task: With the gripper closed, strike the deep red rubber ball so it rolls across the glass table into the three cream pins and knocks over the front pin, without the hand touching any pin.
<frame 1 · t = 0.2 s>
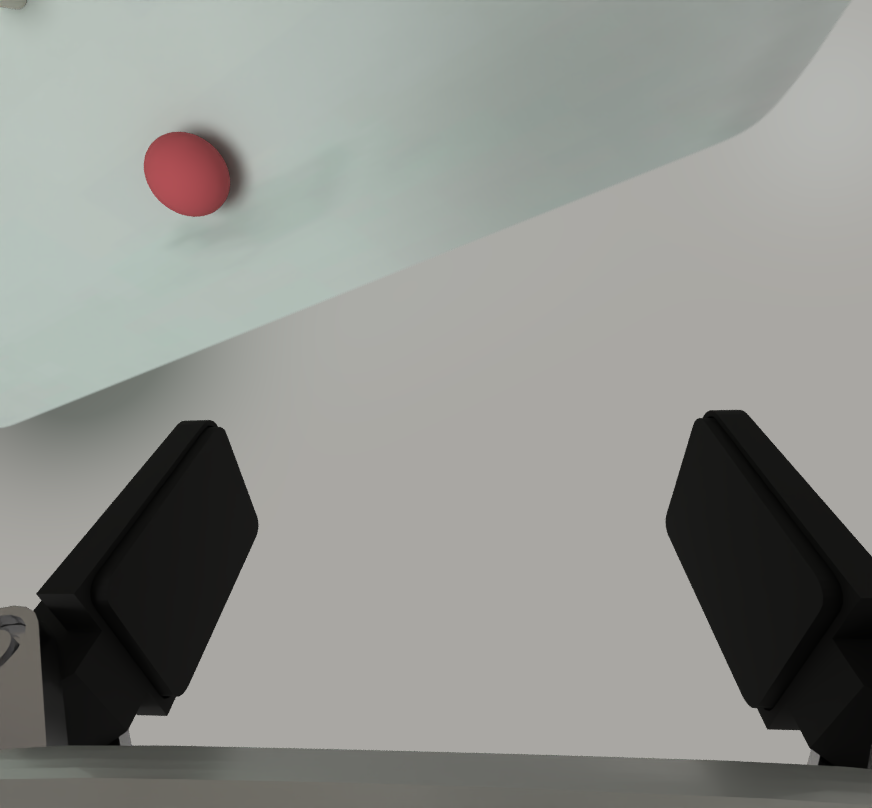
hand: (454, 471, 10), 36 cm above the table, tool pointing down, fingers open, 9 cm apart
ball: (188, 175, 38), on the table
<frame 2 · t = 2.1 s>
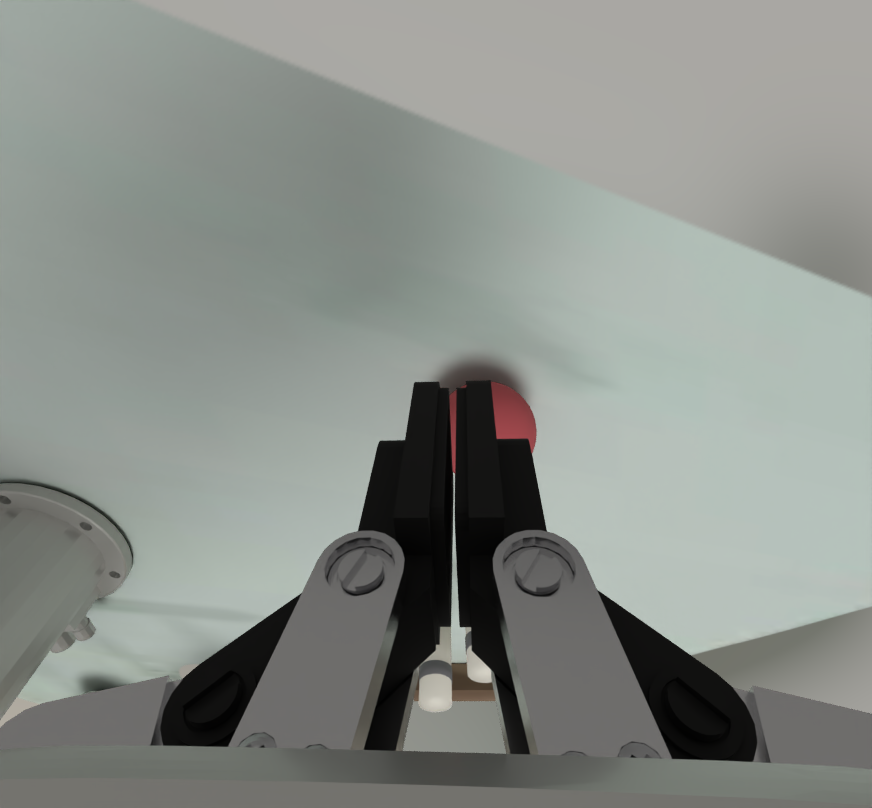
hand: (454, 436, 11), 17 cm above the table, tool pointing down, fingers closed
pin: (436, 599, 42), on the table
back wall: (475, 669, 47), on the table
ball: (484, 431, 28), on the table
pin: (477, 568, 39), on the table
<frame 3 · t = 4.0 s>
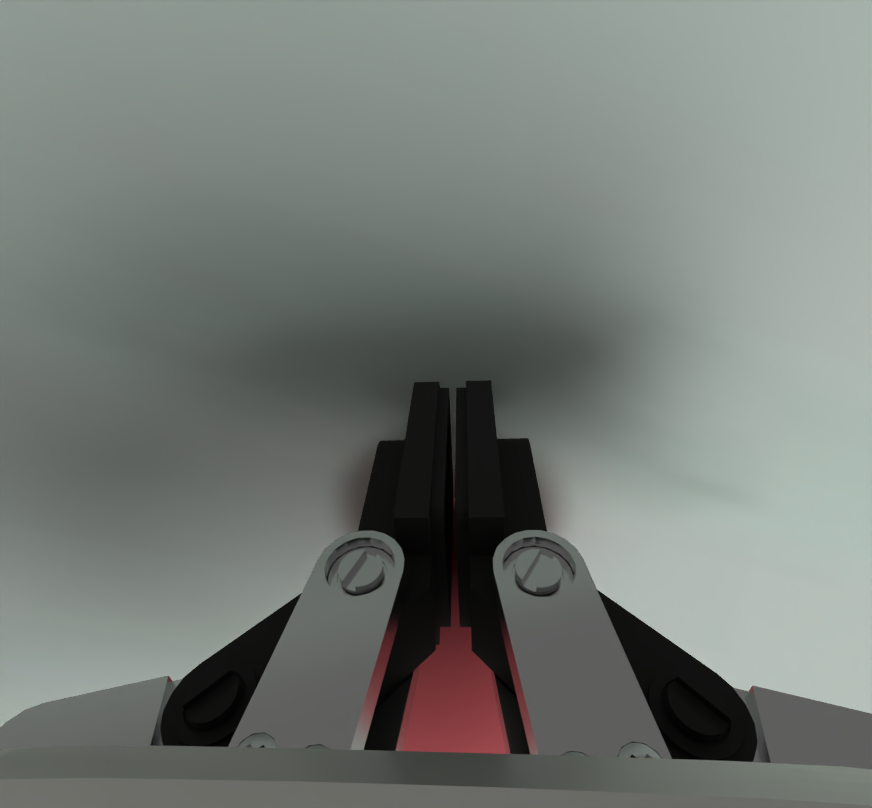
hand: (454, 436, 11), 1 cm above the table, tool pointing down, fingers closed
ball: (458, 620, 12), on the table, touching gripper
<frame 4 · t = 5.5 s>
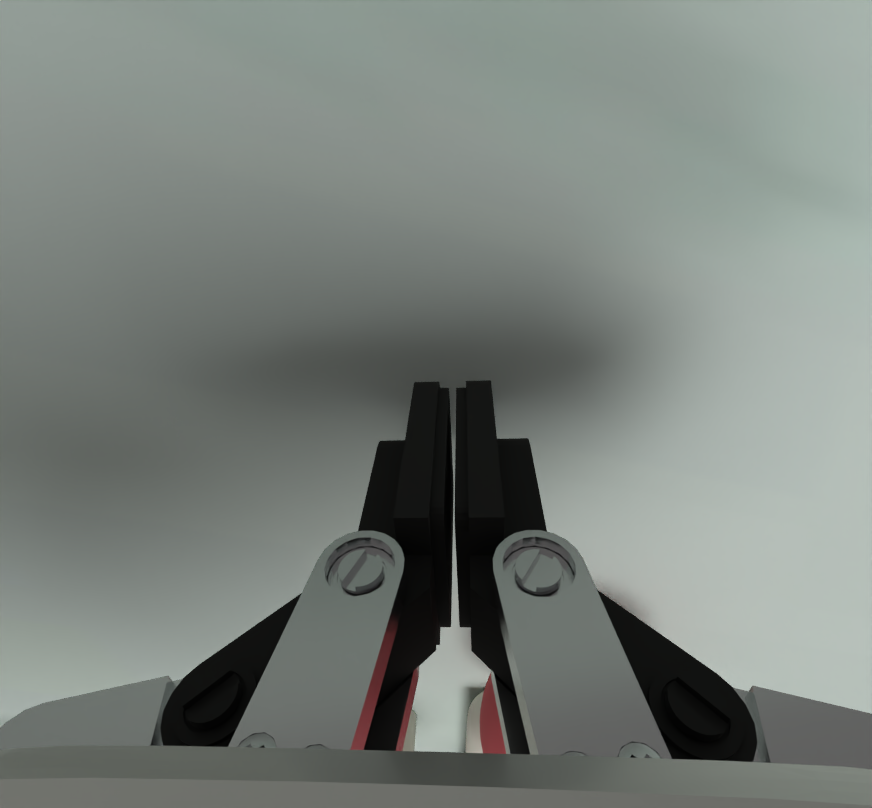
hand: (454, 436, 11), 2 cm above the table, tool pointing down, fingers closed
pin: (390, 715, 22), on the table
ball: (574, 729, 15), on the table
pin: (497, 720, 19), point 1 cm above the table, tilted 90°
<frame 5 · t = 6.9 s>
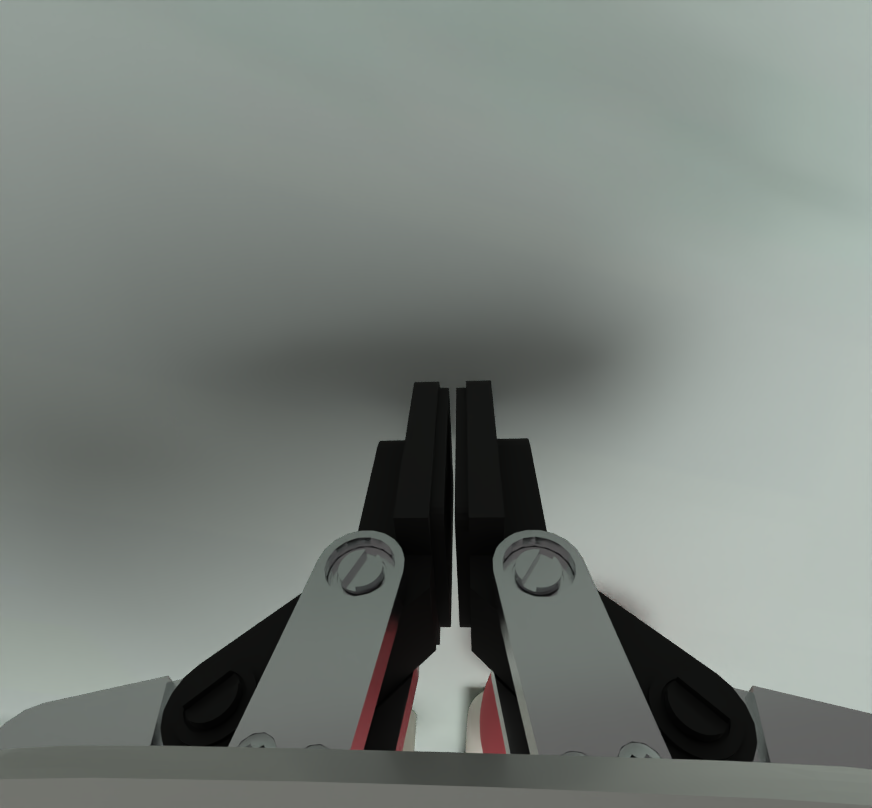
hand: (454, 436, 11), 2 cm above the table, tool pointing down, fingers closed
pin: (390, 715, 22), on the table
ball: (574, 729, 15), on the table
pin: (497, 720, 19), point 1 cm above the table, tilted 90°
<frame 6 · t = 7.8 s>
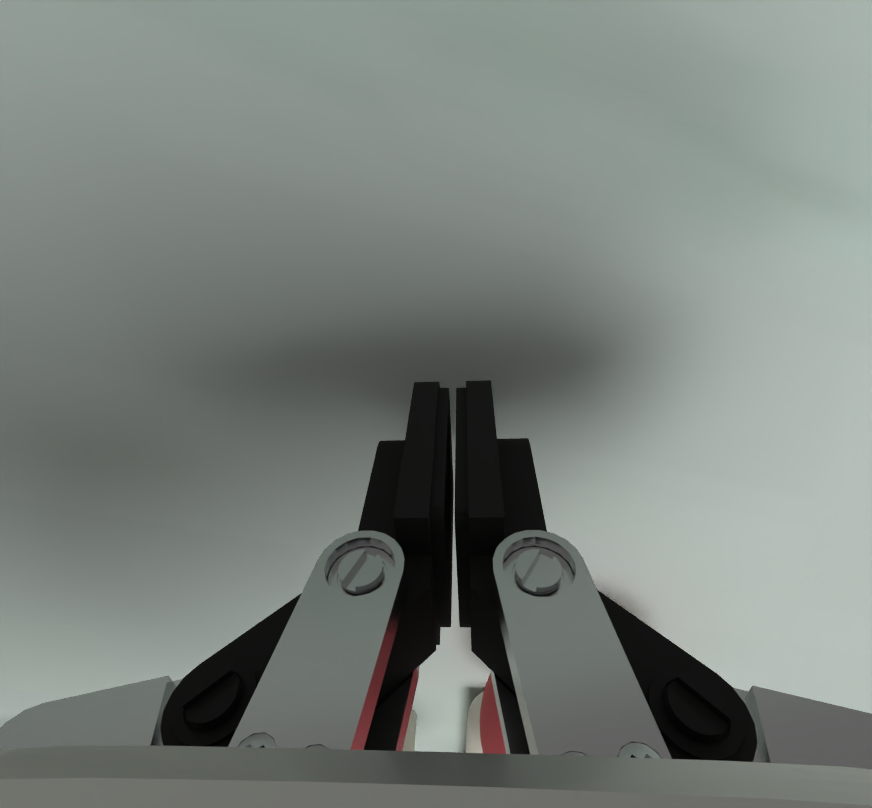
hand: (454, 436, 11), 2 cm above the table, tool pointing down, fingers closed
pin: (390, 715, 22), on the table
ball: (574, 729, 15), on the table
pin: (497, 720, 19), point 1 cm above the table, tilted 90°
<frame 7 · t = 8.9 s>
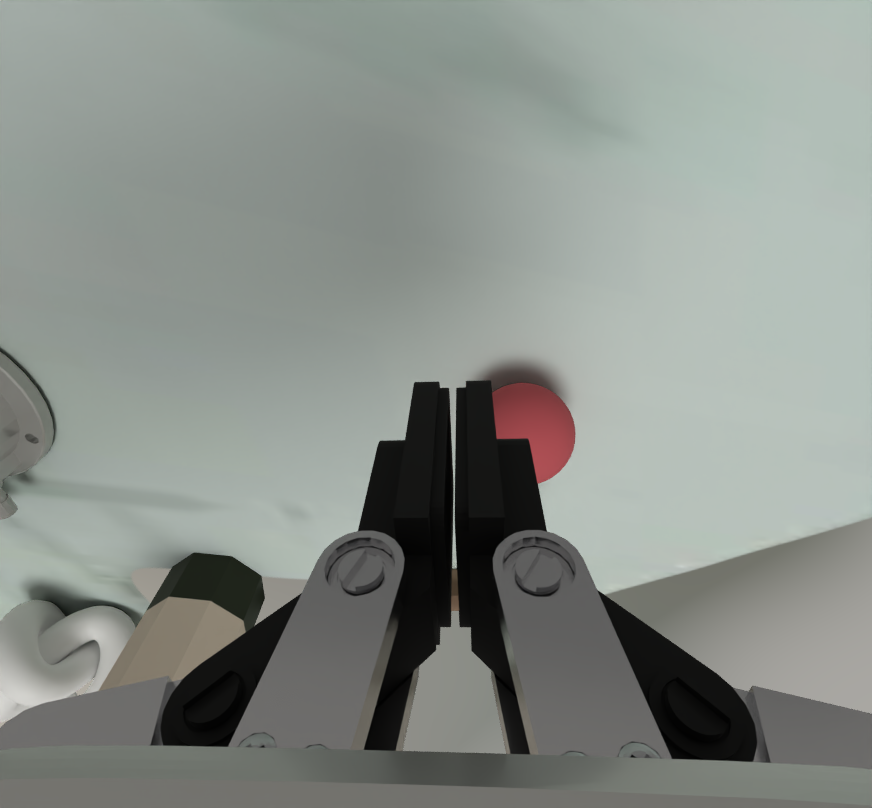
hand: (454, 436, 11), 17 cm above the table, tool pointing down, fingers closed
white knot: (87, 612, 47), on the table
wine bottle: (220, 581, 43), on the table
ball: (522, 433, 28), on the table
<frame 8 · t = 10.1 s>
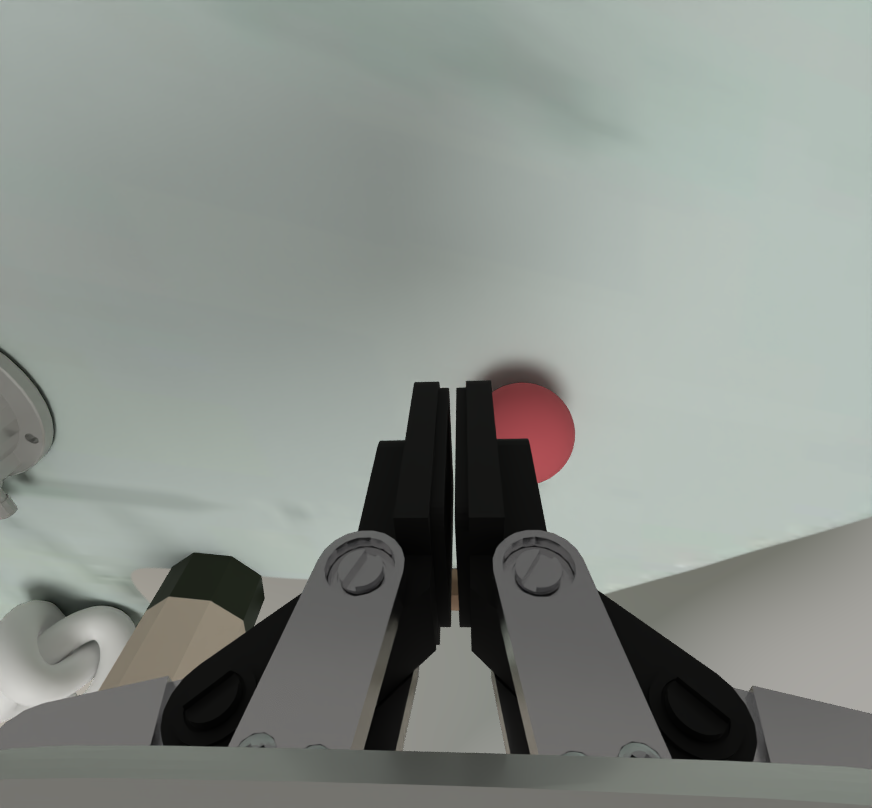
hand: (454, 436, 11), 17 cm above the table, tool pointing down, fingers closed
white knot: (86, 612, 47), on the table
wine bottle: (220, 580, 43), on the table
ball: (522, 433, 28), on the table
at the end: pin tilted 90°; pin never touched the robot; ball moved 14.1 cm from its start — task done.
